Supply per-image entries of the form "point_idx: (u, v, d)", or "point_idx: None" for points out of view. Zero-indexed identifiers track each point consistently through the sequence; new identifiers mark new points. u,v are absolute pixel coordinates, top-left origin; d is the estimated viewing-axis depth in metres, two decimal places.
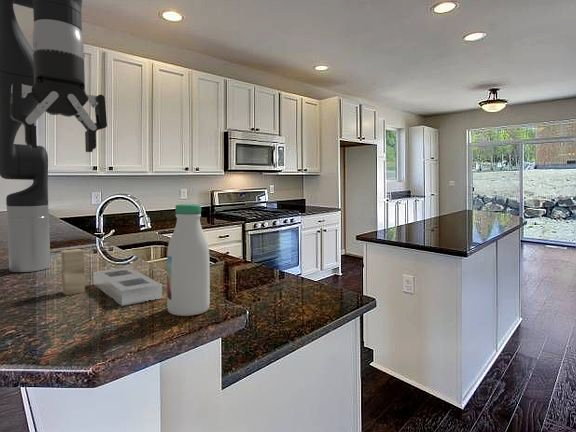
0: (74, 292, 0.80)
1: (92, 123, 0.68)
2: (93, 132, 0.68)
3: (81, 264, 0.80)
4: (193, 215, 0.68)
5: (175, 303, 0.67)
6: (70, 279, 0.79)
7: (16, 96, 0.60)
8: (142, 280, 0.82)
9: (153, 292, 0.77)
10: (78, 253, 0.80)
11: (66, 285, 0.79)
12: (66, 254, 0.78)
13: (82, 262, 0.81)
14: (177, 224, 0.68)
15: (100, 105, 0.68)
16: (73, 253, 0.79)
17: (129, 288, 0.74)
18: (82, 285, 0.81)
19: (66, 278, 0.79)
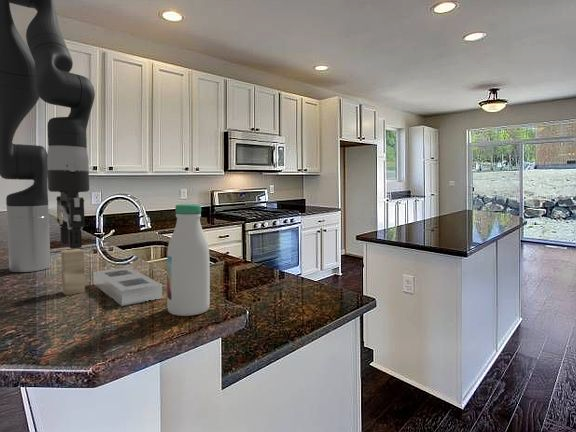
0: (74, 292, 0.80)
1: None
2: None
3: (81, 264, 0.80)
4: (193, 215, 0.68)
5: (175, 303, 0.67)
6: (70, 279, 0.79)
7: None
8: (142, 280, 0.82)
9: (153, 292, 0.77)
10: (78, 253, 0.80)
11: (66, 285, 0.79)
12: (66, 254, 0.78)
13: (82, 262, 0.81)
14: (177, 224, 0.68)
15: None
16: (73, 253, 0.79)
17: (129, 288, 0.74)
18: (82, 285, 0.81)
19: (66, 278, 0.79)
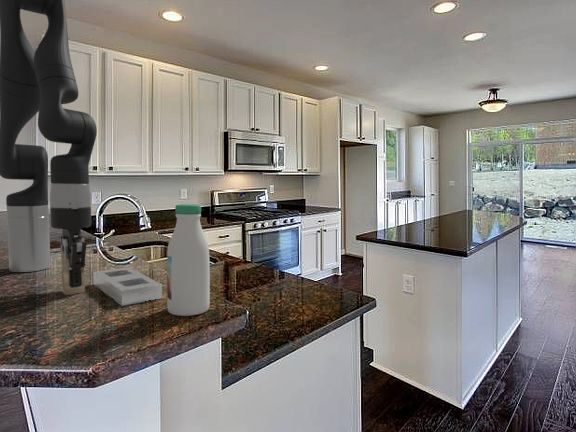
0: (74, 292, 0.80)
1: None
2: None
3: None
4: (193, 215, 0.68)
5: (175, 303, 0.67)
6: None
7: None
8: (142, 280, 0.82)
9: (153, 292, 0.77)
10: None
11: (66, 285, 0.79)
12: None
13: None
14: (177, 224, 0.68)
15: None
16: None
17: (129, 288, 0.74)
18: (82, 285, 0.81)
19: (66, 278, 0.79)
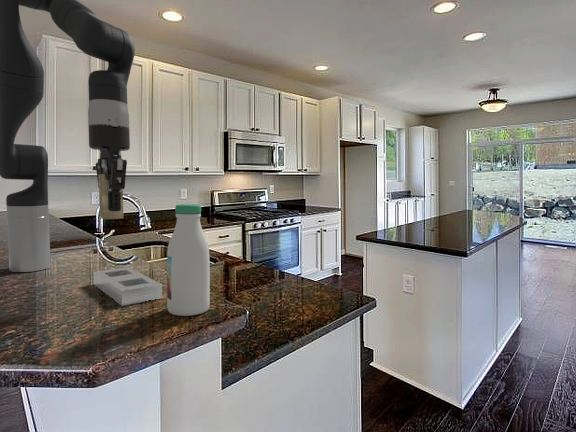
0: (113, 217, 0.76)
1: None
2: None
3: None
4: (193, 215, 0.68)
5: (175, 303, 0.67)
6: None
7: None
8: (142, 280, 0.82)
9: (153, 292, 0.77)
10: None
11: (105, 208, 0.75)
12: None
13: None
14: (177, 224, 0.68)
15: None
16: None
17: (129, 288, 0.74)
18: (121, 210, 0.77)
19: (105, 201, 0.75)
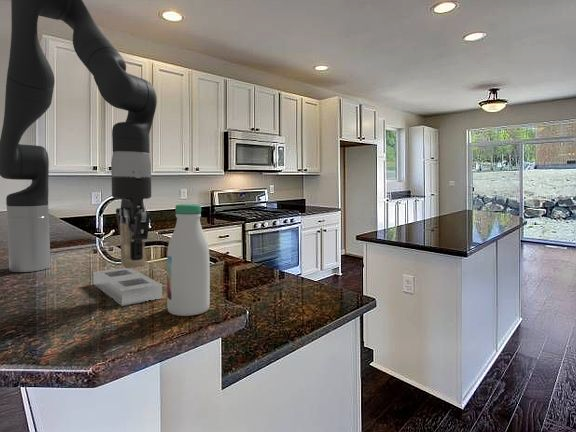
0: (135, 265, 0.77)
1: None
2: None
3: None
4: (193, 215, 0.68)
5: (175, 303, 0.67)
6: None
7: None
8: (142, 280, 0.82)
9: (153, 292, 0.77)
10: None
11: (127, 258, 0.76)
12: None
13: None
14: (177, 224, 0.68)
15: None
16: None
17: (129, 288, 0.74)
18: (142, 258, 0.78)
19: (127, 250, 0.76)
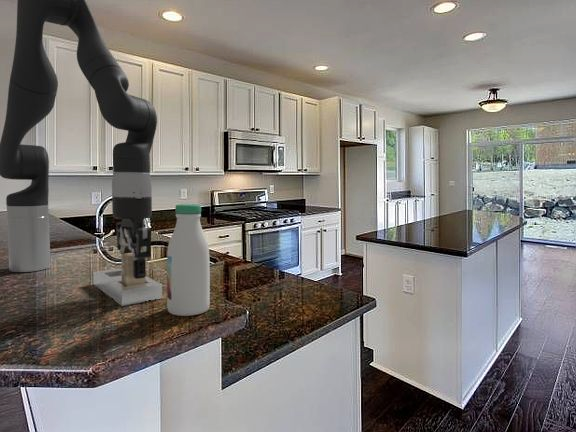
0: None
1: None
2: None
3: None
4: (193, 215, 0.68)
5: (175, 303, 0.67)
6: (132, 283, 0.77)
7: None
8: None
9: (153, 292, 0.77)
10: None
11: None
12: (129, 257, 0.76)
13: None
14: (177, 224, 0.68)
15: None
16: None
17: (129, 288, 0.74)
18: None
19: (128, 282, 0.76)
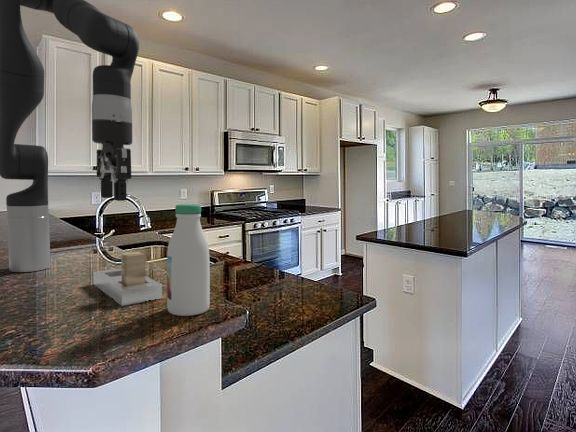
0: None
1: (111, 174, 0.83)
2: None
3: (142, 268, 0.78)
4: (193, 215, 0.68)
5: (175, 303, 0.67)
6: (132, 283, 0.77)
7: None
8: None
9: (153, 292, 0.77)
10: (140, 256, 0.78)
11: None
12: (129, 257, 0.76)
13: (143, 265, 0.78)
14: (177, 224, 0.68)
15: None
16: (135, 256, 0.77)
17: (129, 288, 0.74)
18: None
19: (128, 282, 0.76)
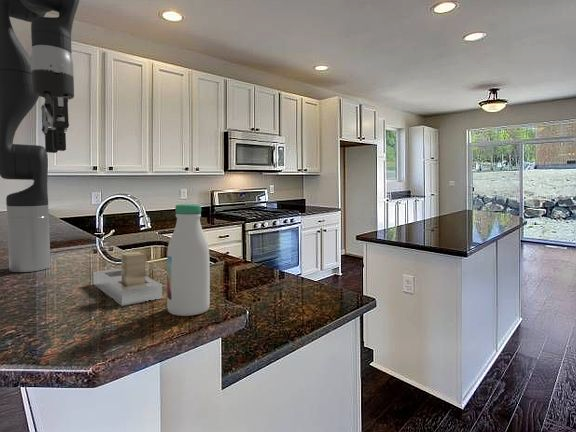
0: None
1: None
2: None
3: (142, 267, 0.78)
4: (193, 215, 0.68)
5: (175, 303, 0.67)
6: (132, 283, 0.77)
7: None
8: None
9: (153, 292, 0.77)
10: (140, 256, 0.78)
11: None
12: (129, 257, 0.76)
13: (143, 265, 0.78)
14: (177, 224, 0.68)
15: None
16: (135, 256, 0.77)
17: (129, 288, 0.74)
18: None
19: (128, 282, 0.76)
